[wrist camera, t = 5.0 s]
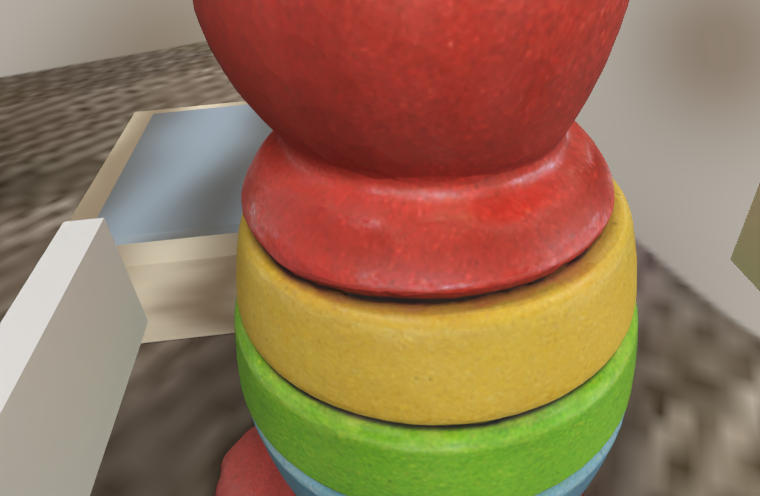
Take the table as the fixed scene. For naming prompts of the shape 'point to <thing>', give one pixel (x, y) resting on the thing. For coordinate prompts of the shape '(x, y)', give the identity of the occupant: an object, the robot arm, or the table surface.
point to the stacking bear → (426, 248)
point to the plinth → (179, 212)
